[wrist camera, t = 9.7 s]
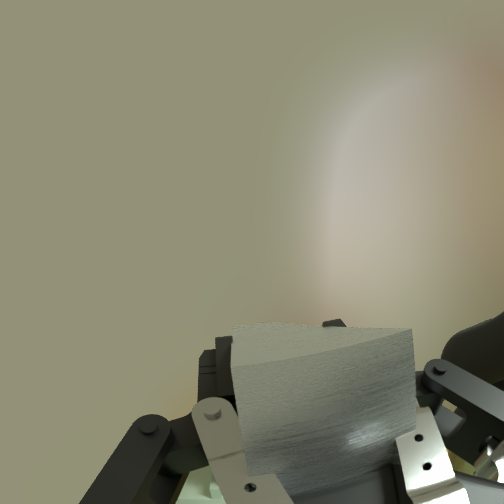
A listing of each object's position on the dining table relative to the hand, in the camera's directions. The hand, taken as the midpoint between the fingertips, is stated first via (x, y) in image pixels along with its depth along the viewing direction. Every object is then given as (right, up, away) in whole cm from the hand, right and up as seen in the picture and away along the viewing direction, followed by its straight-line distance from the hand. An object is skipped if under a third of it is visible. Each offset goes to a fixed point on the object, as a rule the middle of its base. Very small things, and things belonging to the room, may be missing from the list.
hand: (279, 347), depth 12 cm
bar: (0, -5, +5) cm, 7 cm away
